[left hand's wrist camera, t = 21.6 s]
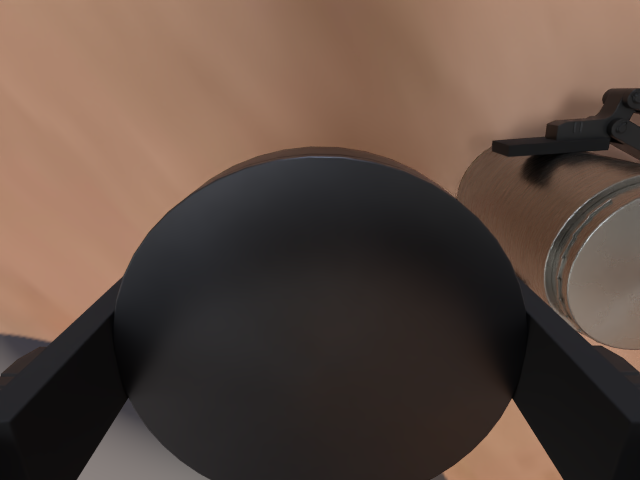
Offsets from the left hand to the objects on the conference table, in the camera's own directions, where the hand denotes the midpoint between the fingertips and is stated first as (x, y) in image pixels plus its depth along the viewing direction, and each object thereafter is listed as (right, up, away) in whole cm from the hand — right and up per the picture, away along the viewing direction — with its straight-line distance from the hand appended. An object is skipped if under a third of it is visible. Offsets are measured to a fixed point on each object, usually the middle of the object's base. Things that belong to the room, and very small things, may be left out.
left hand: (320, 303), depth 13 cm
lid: (0, -1, -3) cm, 3 cm away
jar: (+17, +6, +22) cm, 28 cm away
